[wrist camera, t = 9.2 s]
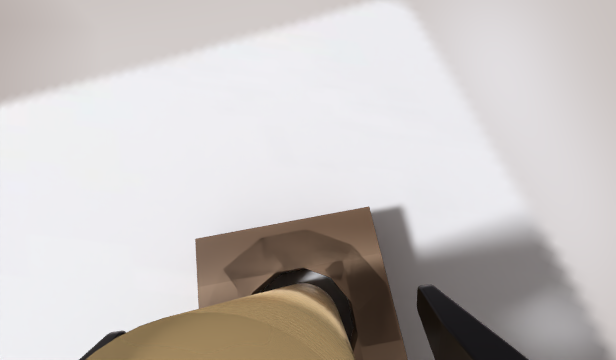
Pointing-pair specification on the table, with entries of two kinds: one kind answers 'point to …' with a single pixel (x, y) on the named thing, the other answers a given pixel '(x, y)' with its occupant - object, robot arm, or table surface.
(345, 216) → the jig plate
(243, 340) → the bronze sleeve
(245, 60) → the table surface
